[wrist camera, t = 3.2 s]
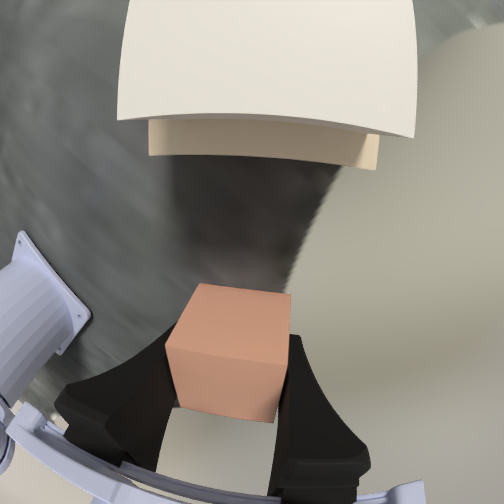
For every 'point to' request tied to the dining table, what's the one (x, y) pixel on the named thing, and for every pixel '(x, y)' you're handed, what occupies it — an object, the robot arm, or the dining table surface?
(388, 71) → the cream top block
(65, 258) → the dining table surface
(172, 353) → the terracotta cube
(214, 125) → the birch base block
